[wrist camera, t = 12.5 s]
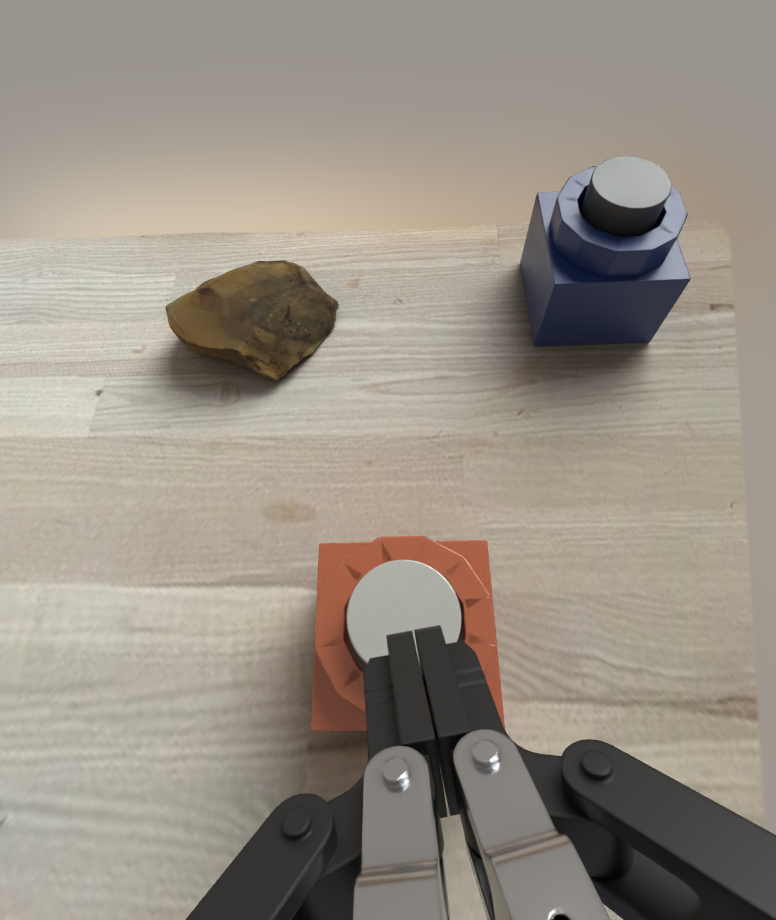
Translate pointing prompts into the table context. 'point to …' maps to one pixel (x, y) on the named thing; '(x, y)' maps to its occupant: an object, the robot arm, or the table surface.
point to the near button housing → (599, 272)
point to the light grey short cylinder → (400, 606)
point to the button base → (334, 654)
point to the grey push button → (626, 196)
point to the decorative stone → (256, 317)
